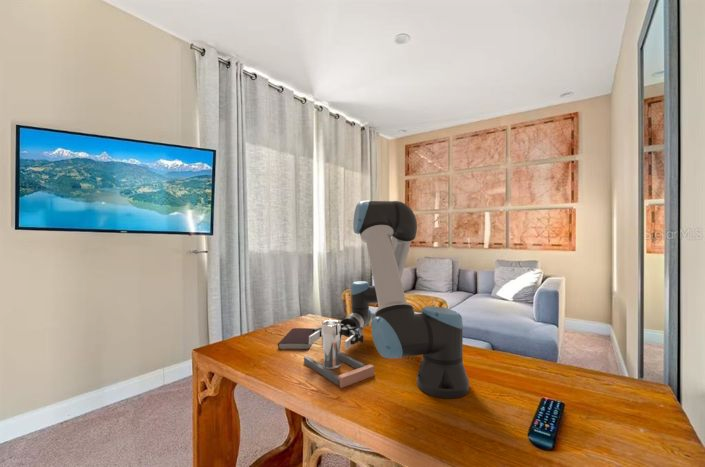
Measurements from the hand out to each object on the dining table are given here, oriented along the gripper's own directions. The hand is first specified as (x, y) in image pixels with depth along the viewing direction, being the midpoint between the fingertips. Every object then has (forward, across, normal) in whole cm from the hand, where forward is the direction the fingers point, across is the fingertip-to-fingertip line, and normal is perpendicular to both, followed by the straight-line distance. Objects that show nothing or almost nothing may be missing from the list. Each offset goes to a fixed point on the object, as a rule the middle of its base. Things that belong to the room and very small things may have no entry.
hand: (327, 342), depth 110 cm
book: (-20, +24, -10) cm, 33 cm away
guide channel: (-1, -4, -9) cm, 10 cm away
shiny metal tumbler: (-3, 0, -9) cm, 10 cm away
